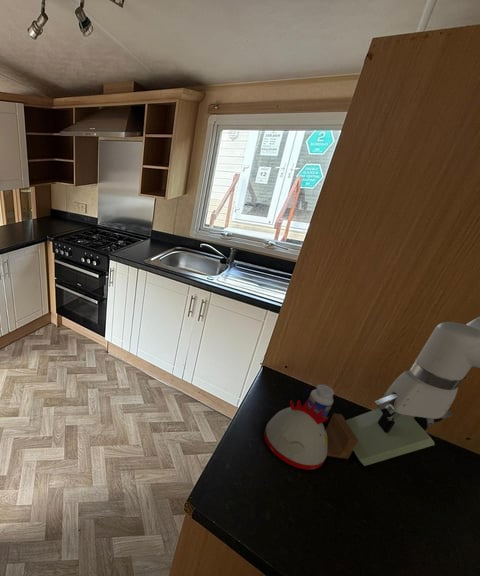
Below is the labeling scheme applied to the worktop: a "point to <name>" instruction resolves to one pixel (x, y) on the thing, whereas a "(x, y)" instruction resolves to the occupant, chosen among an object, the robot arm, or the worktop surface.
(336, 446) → the bookend
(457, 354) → the robot arm
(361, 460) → the book
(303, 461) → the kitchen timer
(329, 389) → the pill bottle
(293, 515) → the worktop surface
